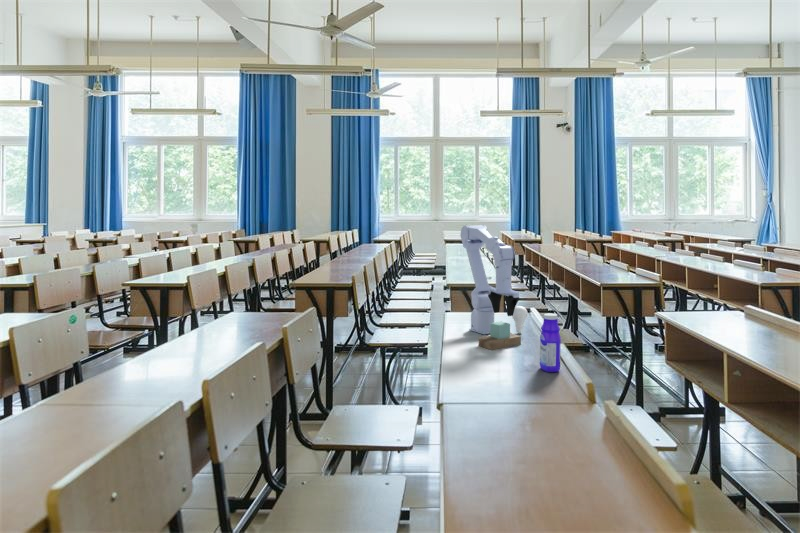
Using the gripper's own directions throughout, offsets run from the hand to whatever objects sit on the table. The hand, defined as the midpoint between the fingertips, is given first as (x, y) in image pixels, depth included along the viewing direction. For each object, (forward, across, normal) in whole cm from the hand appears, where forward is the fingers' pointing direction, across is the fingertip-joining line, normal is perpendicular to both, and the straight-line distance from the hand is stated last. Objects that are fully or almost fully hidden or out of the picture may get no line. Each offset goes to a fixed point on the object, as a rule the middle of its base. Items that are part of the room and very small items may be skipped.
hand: (503, 314), depth 207 cm
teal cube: (+7, +5, -6) cm, 10 cm away
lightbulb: (+10, -4, +12) cm, 16 cm away
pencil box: (+10, +5, -6) cm, 13 cm away
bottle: (+10, +36, -13) cm, 40 cm away
